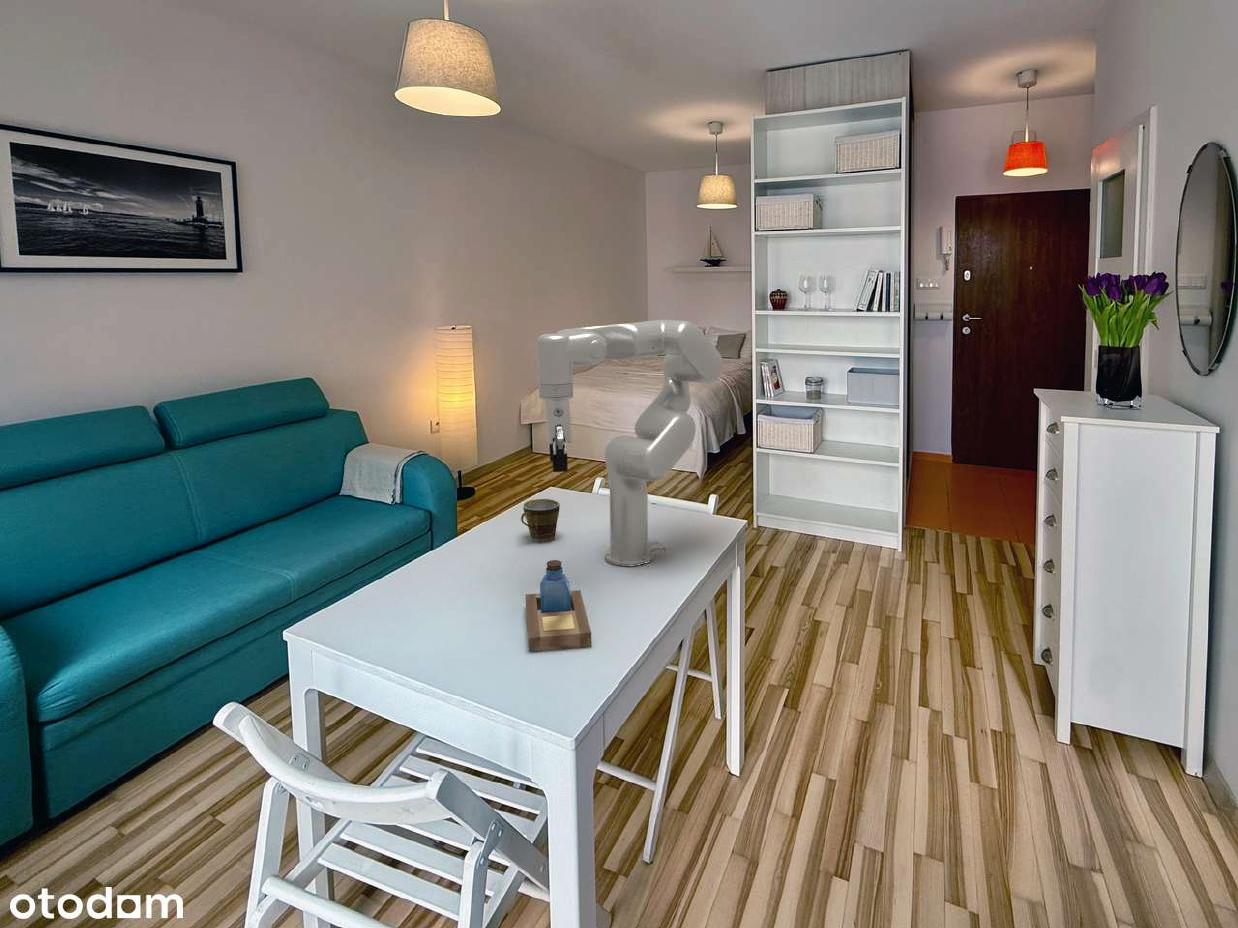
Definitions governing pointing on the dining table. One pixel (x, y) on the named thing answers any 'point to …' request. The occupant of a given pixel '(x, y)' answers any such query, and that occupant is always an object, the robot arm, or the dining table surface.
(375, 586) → the dining table surface
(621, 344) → the robot arm
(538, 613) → the frame
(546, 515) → the ceramic cup
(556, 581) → the perfume bottle
